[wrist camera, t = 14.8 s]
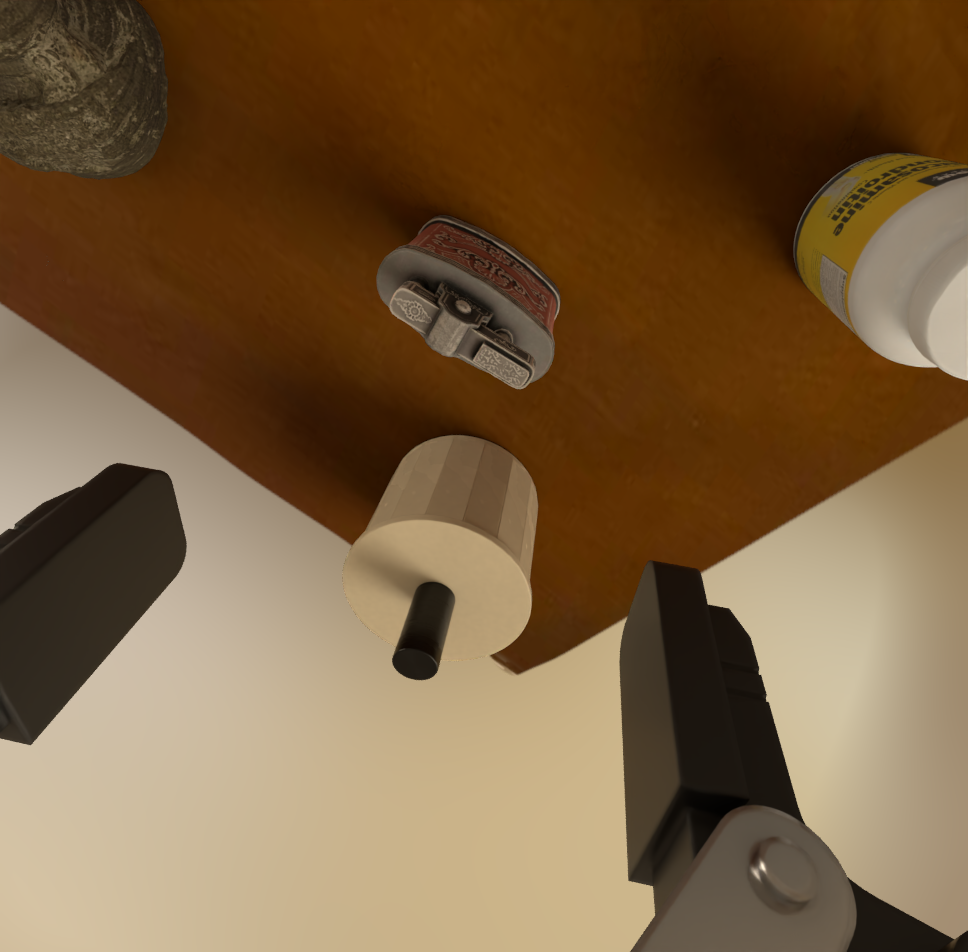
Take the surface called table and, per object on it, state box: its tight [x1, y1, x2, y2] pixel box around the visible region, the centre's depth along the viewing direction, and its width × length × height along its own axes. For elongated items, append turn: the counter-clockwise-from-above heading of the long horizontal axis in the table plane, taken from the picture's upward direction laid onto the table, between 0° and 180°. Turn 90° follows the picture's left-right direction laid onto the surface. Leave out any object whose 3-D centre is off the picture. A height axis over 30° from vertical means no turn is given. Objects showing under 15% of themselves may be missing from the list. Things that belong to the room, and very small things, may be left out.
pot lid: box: [342, 514, 532, 680], centre depth 30 cm, size 10×10×6 cm
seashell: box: [0, 0, 168, 265], centre depth 24 cm, size 11×12×10 cm
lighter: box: [377, 215, 560, 389], centre depth 26 cm, size 8×3×10 cm, turn 60°
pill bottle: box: [794, 153, 968, 380], centre depth 22 cm, size 6×6×12 cm
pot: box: [365, 435, 538, 581], centre depth 35 cm, size 10×10×8 cm
